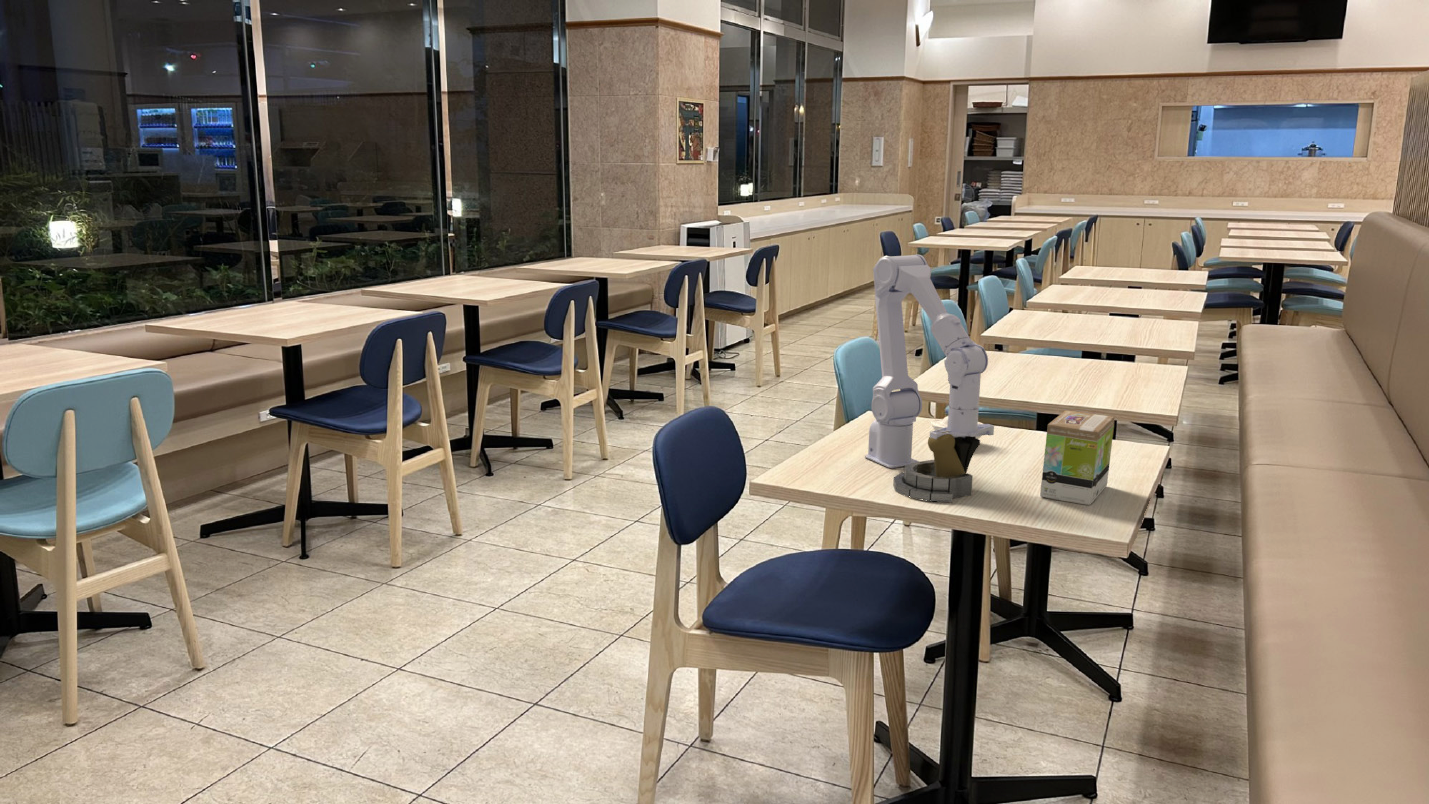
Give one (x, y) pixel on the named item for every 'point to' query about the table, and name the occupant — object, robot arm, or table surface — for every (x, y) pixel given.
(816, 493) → the table surface
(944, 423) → the cell model
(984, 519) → the table surface
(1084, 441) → the tea box
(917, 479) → the hub collar
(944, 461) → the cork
